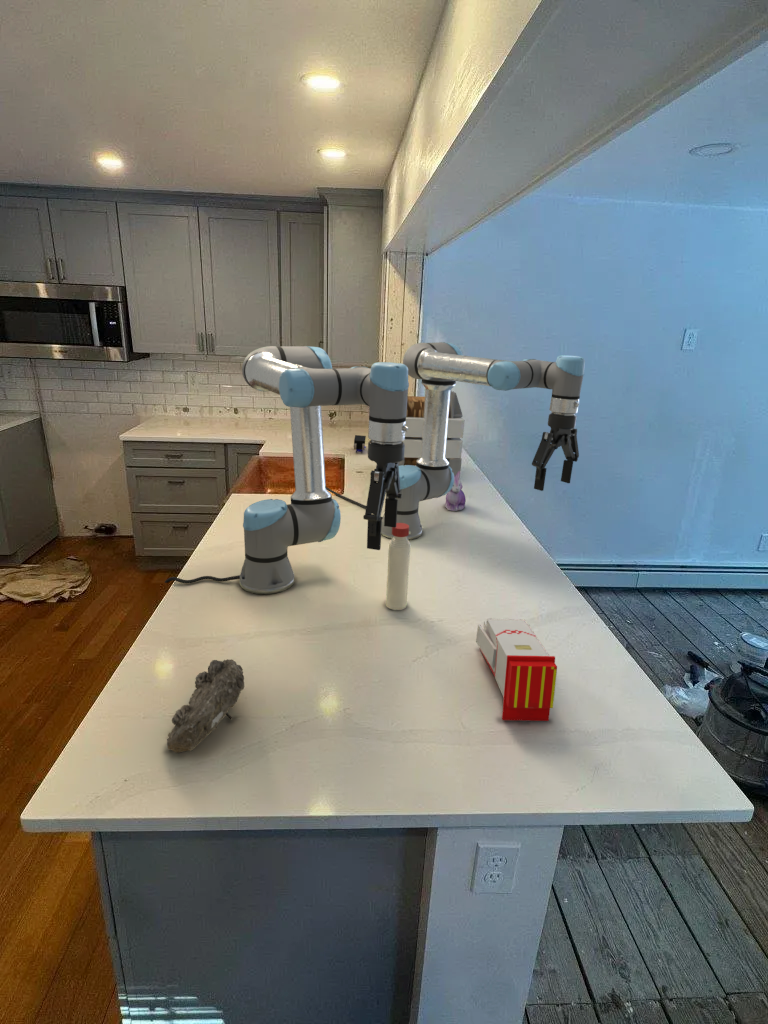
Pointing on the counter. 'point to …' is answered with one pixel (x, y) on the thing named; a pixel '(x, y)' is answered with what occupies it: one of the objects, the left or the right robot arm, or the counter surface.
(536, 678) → the toy
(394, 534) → the cap
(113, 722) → the counter surface
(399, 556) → the bottle
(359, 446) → the figurine character
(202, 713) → the fossil
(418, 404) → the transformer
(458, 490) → the figurine
